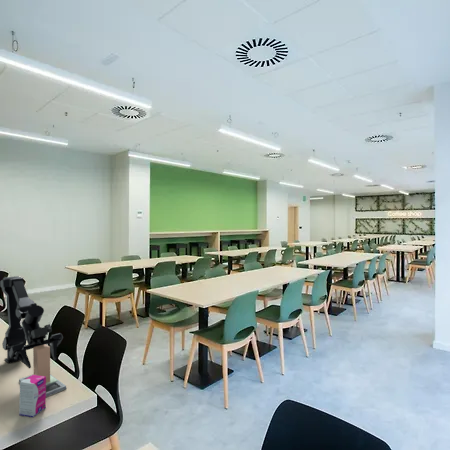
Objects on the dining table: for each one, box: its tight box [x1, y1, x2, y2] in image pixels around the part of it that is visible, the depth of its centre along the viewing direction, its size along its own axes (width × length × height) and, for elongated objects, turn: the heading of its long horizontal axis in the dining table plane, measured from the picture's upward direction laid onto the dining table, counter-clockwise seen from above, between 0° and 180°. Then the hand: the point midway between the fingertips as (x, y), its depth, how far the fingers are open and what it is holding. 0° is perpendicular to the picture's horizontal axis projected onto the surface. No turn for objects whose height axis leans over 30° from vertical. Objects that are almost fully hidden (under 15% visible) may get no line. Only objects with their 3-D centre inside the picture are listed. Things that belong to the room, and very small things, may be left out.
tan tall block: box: [32, 344, 51, 383], centre depth 127 cm, size 4×4×14 cm
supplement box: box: [18, 374, 47, 418], centre depth 109 cm, size 6×6×12 cm
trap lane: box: [18, 373, 67, 398], centre depth 127 cm, size 20×10×1 cm, turn 50°
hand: (43, 363), depth 126 cm, fingers open, 9 cm apart
